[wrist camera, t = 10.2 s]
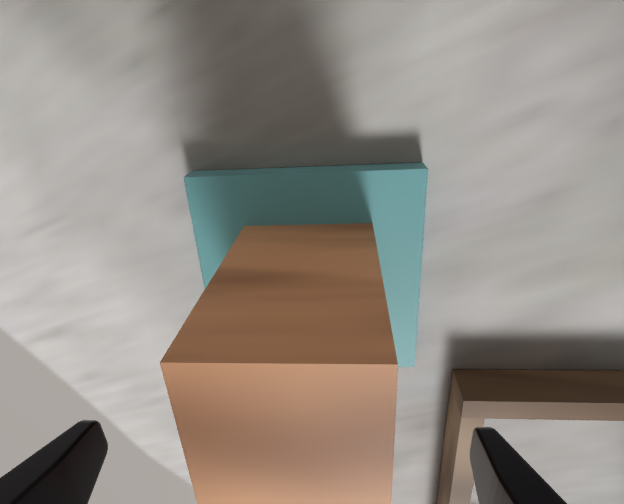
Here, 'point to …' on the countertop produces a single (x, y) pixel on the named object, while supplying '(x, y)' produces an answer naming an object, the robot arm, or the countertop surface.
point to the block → (289, 371)
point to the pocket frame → (518, 410)
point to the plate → (323, 220)
